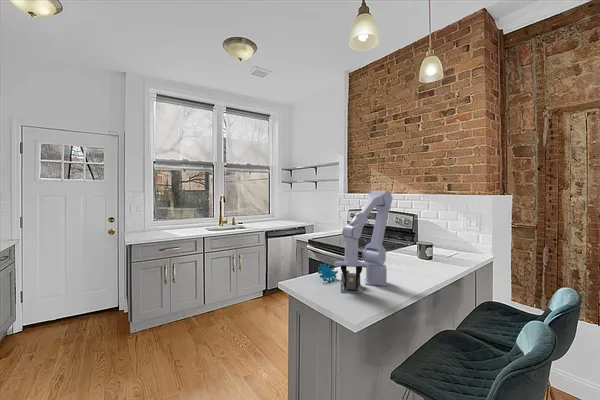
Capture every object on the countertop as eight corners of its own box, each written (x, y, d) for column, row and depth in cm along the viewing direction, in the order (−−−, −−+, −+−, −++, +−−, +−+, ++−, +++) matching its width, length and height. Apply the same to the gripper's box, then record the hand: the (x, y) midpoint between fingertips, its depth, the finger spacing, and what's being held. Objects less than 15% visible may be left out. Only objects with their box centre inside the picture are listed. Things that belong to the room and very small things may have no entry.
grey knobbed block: (355, 286, 128) (355, 273, 128) (356, 290, 123) (356, 276, 122) (346, 286, 128) (346, 272, 128) (346, 290, 123) (346, 276, 123)
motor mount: (360, 284, 133) (360, 270, 133) (361, 293, 122) (362, 277, 121) (340, 283, 135) (340, 269, 135) (340, 292, 123) (340, 276, 123)
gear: (321, 280, 134) (316, 261, 141) (316, 286, 138) (312, 268, 144) (341, 281, 138) (336, 263, 145) (336, 287, 142) (331, 269, 149)
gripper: (334, 253, 123) (334, 285, 123) (369, 255, 121) (368, 287, 121) (334, 250, 130) (334, 280, 130) (367, 251, 128) (367, 281, 128)
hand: (351, 283), depth 126 cm, fingers closed on grey knobbed block, 4 cm apart
